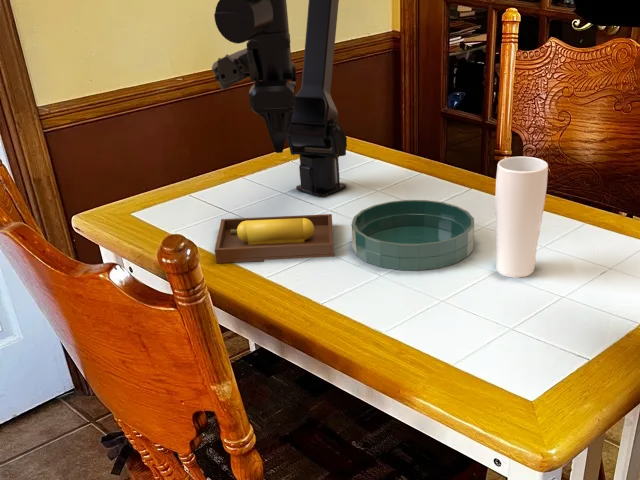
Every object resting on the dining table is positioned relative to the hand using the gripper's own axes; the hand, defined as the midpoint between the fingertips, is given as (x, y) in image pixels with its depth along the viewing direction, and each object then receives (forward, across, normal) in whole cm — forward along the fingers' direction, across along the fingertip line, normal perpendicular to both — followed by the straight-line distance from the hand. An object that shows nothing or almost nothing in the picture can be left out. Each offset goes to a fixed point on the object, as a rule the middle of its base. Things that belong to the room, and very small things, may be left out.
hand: (279, 143), depth 129 cm
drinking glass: (+12, +24, +32) cm, 42 cm away
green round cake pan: (+12, +13, +19) cm, 26 cm away
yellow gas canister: (+11, +10, -1) cm, 15 cm away
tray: (+12, +10, -1) cm, 16 cm away
